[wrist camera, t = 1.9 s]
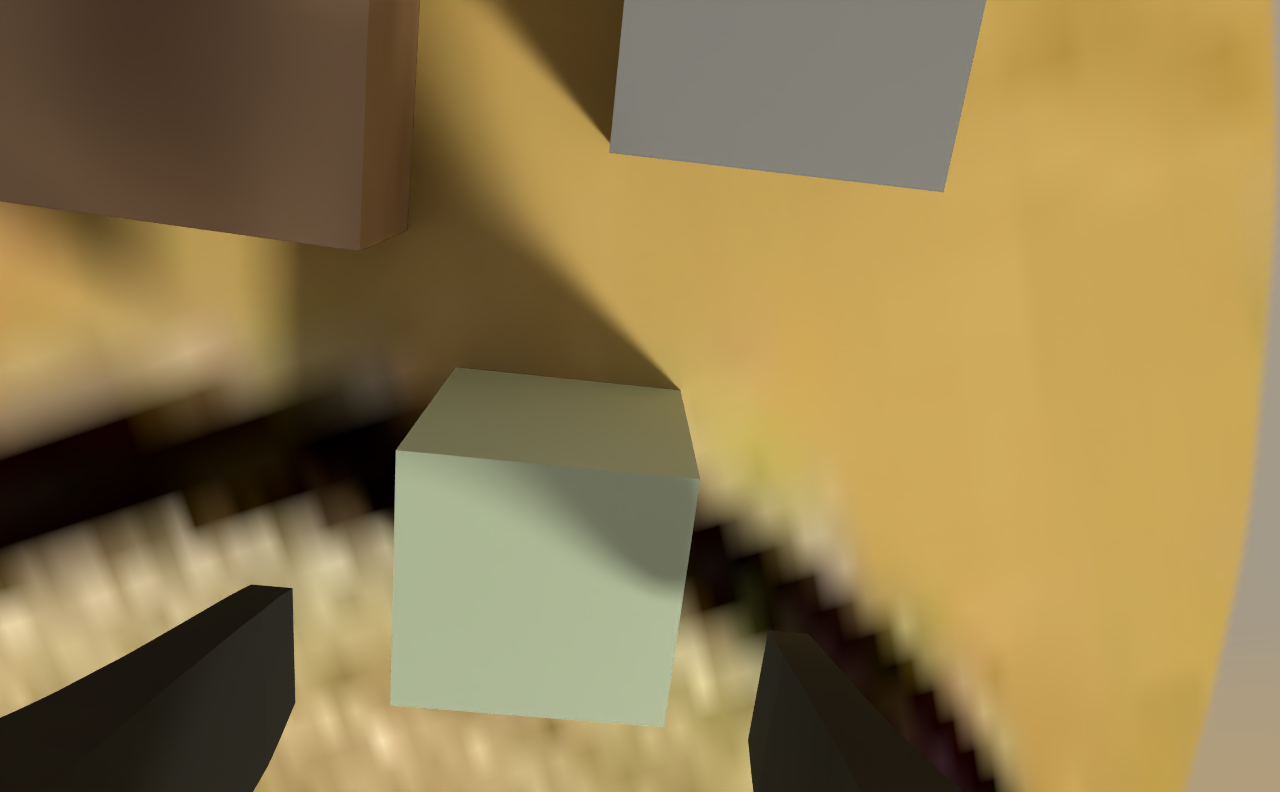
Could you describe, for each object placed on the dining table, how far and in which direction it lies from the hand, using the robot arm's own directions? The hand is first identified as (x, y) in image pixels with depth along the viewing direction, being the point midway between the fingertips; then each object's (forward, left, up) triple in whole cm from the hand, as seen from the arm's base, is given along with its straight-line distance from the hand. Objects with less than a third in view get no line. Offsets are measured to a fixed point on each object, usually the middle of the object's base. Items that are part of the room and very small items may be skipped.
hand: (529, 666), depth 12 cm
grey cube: (+3, +10, -7) cm, 12 cm away
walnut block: (-7, +9, -7) cm, 13 cm away
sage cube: (0, 0, -7) cm, 7 cm away
